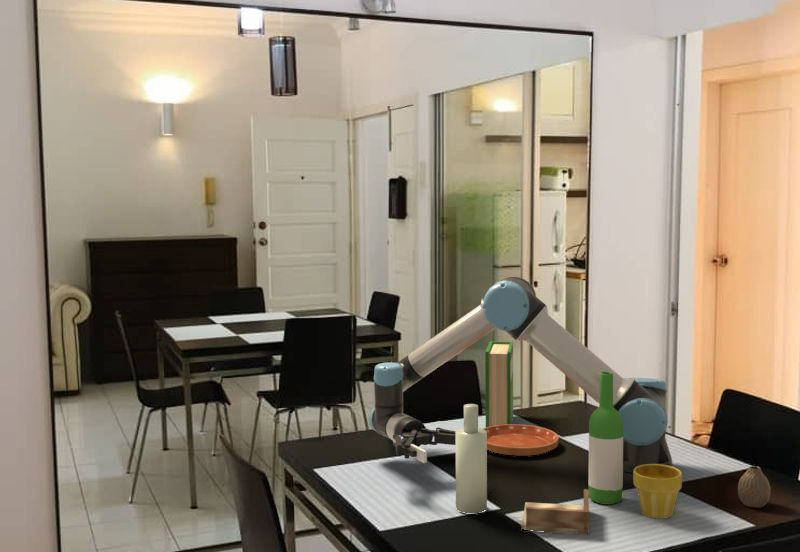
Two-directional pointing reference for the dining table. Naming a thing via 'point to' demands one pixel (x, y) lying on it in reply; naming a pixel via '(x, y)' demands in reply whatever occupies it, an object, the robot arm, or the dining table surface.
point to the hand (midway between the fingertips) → (450, 452)
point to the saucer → (520, 439)
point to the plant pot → (657, 489)
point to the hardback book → (499, 383)
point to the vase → (754, 488)
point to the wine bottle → (606, 447)
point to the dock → (557, 517)
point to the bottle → (471, 464)
